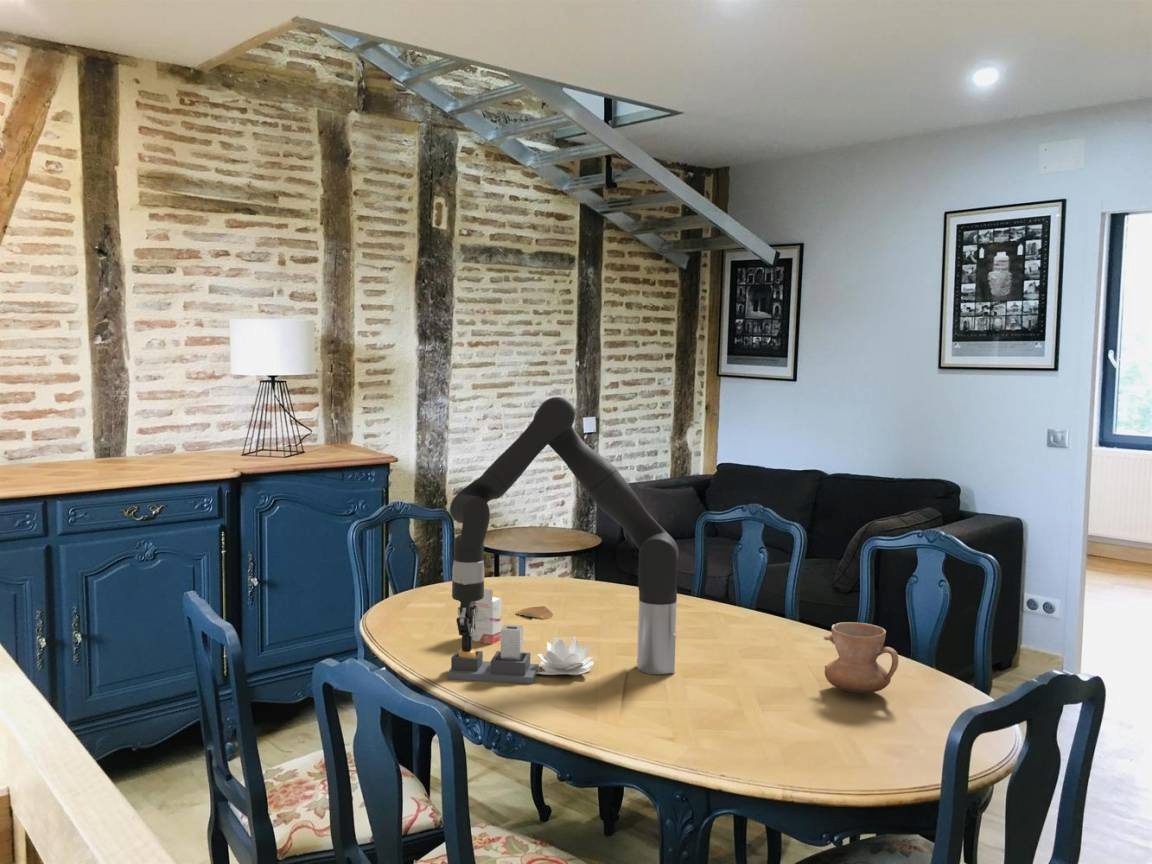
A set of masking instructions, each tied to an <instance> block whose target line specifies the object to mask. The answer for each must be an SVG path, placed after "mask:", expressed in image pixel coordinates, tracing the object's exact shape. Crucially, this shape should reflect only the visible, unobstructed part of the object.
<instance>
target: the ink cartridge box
mask: <svg viewBox="0 0 1152 864" xmlns="http://www.w3.org/2000/svg"><path fill="white" fill-rule="evenodd" d="M502 601H503V599H502V597H495V596H493V589H487V588H484V597H483V599H481V600H479V601H476V604H475V605H477V606H478V612H477V619H476V625H475V630H474V633H473V634H472V641H473V640H474V641H473V642H477V641H480V642H479V643H482V642H485V643H484V644H487V643H489V644H488V645H494V644H496V643H498V642H501V629H502V626H503V625H502V621H503V620H502V612H503V611H502V608H503V606H502V604H503V603H502ZM497 641H498V642H497ZM493 643H494V644H493Z"/></svg>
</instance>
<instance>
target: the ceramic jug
mask: <svg viewBox="0 0 1152 864" xmlns="http://www.w3.org/2000/svg"><path fill="white" fill-rule="evenodd" d="M886 633H887V630H886V629H884V628H883V627H881V626H878V625H874V624H871V623H865V622H851V621H849V622H848V621H847V622H845V621H844V622H838V623H835V624H832V625H831V633H827V634H824V635H823V640H825V641H829V642H831V643H832V644H833V645H834V646H835V649H836V652H837V654H838V658H836V659H834V660H833V661H831V662H829V663H828V664H825V665H824V676H825V678H826V681H827V682H828V683H830V685H832V686H834V687H835V688H837V689H839V690H842V691H845V692H848V693H856V694H857V693H858V694H866V693H867V694H868V693H869V694H870V693H876V692H879V691H882V690H884V689H885V688H887V687H888V686H889V685H890V683H891V681H892V677H893V676H894V674H895V673H896V671H897V670H898V667H899V656H898V652H897V651H896V650H895V649H894V648H892V647H890V646H884V644H885V640H886V635H887V634H886ZM883 654H889V655H891V667H890V669H889V671H887V670H886V669H885V668H884V667H883V666H882V665H881V664H879V663H878V662H877V659H878V658H879V657H880V656H881V655H883Z"/></svg>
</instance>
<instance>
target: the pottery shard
mask: <svg viewBox="0 0 1152 864" xmlns="http://www.w3.org/2000/svg"><path fill="white" fill-rule="evenodd" d="M515 613H516V614H519V615H518V616H520V615H524V617H530V618H534V619H539V620H547V619H551V618H553V617H554V613H553V612H552V611H551V610H550V609H549V608H548V607H546V605H545V606H544V605H543V606H533V607H526V608H523V609H521V610H518V611H516V612H515ZM516 614H515V615H516Z"/></svg>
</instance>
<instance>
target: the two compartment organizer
mask: <svg viewBox="0 0 1152 864" xmlns="http://www.w3.org/2000/svg"><path fill="white" fill-rule="evenodd" d="M459 650H460V649H457V650H455V653H453V655H451V657H450V658H451V660H450V661H451V664H450V666H451V667H450V669H449V670H448V671H447V679H448V680H460V681H461V680H462V681H477V682H478V681H479V682H493V683H495V682H496V683H511V684H512V683H513V684H530V685H533V684H534V681H535V680H536V677H537V675H538V674H536V673H537V672H540V669H539V668H540V664H539V663H538V664H537V663H531V652H525V651H523V655H522V662H517V661H500V660H501V650H497V651H496V652H495V654H494V655H493V657H492V658H491V660H490V661H489V660H488V661H486V660H483V659H484V658H483V656H484V655H483V654H484V653H483V651H482V650H481V651H480V650H476V657H475V658H468V657H459Z"/></svg>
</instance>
